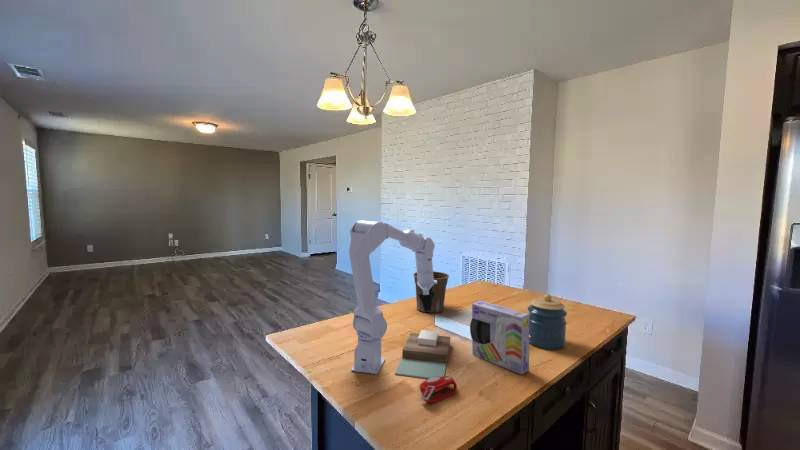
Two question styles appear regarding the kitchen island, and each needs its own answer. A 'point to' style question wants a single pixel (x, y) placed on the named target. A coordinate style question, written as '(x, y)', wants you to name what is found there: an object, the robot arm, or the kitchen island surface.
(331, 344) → the kitchen island surface
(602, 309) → the kitchen island surface
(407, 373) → the mat
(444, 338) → the board
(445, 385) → the tracker holder
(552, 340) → the canister
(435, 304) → the plant pot
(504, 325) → the cake pan box
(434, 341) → the tile
